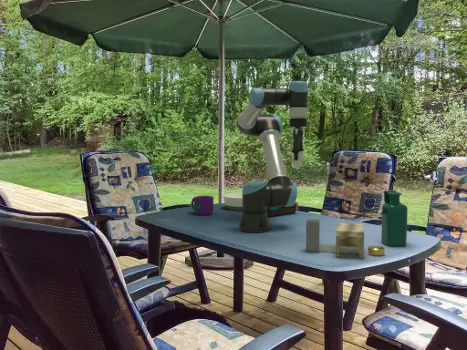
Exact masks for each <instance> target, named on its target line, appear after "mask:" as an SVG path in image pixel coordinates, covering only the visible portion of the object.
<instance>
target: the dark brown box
mask: <svg viewBox="0 0 467 350" xmlns="http://www.w3.org/2000/svg"><path fill="white" fill-rule="evenodd" d="M298 211H299V202H297V201H295V203H294V205H293V206H287V207H267V209H266V213H267V217H268V218H269V217H281V216H283V215H285V216H286V215H290V214H294V213H296V212H298Z"/></svg>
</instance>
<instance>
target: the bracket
mask: <svg viewBox="0 0 467 350" xmlns="http://www.w3.org/2000/svg"><path fill="white" fill-rule="evenodd" d="M305 225H306V226H305V252H308V253H319V252H320V253H321V252H323V253H336V244H332V243H331V244H329V243H327V244H326V243H320V241H321V239H320V237H321V236H320V234H321V233H320V232H321V219H316V218H315V219H313V218H312V219H311V218H307V219H306V221H305ZM339 254H355V255H357V254H358V256H360V244H358V246H351V245H339Z"/></svg>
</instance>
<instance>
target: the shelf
mask: <svg viewBox="0 0 467 350" xmlns="http://www.w3.org/2000/svg"><path fill="white" fill-rule="evenodd" d="M335 231H336V234H335V235H336V236H335V237H336V238H335V245H336V252H335V257H336V258H340V253H339V245H351V246H358V244H360V255H359V258H360V259H362V260H363V259H364V257H365V256H364V255H365V254H364V251H365V229H364V224H363V223H350V222H349V223H348V222H336V229H335Z"/></svg>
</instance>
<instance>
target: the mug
mask: <svg viewBox="0 0 467 350" xmlns="http://www.w3.org/2000/svg"><path fill="white" fill-rule="evenodd" d="M214 198H215V197H214V196H211V195H198V196H197V195H196V196H195V197H193V198H192V199H191V201H190V205H191V208H192V209H193V210H194V213H195V215H197V216H210V215H212V214H213V213H214Z"/></svg>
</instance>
